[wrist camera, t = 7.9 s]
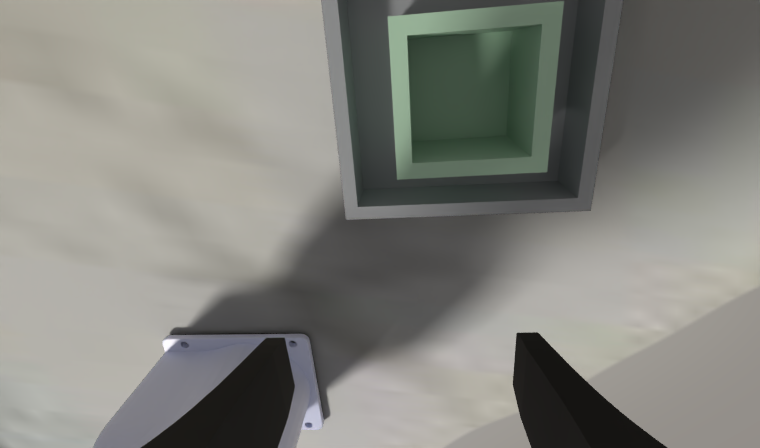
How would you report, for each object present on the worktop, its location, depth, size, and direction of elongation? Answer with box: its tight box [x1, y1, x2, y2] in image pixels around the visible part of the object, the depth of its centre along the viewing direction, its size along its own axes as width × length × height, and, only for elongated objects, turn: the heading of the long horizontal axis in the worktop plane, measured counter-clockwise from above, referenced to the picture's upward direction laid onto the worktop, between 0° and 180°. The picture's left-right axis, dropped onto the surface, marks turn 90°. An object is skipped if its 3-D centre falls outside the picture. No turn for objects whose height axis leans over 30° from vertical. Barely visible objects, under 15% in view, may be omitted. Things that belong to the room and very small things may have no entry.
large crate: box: [321, 0, 623, 220], centre depth 17 cm, size 11×11×3 cm
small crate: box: [388, 1, 564, 180], centre depth 16 cm, size 6×6×4 cm
